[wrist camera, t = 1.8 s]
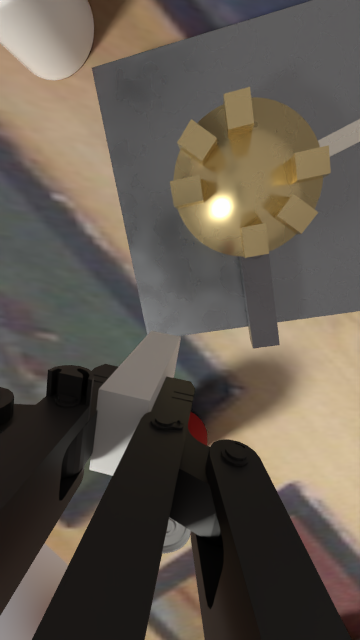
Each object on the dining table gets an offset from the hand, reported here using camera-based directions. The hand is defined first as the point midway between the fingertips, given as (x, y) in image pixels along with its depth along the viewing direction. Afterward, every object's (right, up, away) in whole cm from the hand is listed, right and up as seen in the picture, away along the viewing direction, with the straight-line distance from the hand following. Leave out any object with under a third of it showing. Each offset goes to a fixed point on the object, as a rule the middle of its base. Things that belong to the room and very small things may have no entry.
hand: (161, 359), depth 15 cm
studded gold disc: (+6, +9, +9) cm, 14 cm away
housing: (+6, +13, +13) cm, 19 cm away
